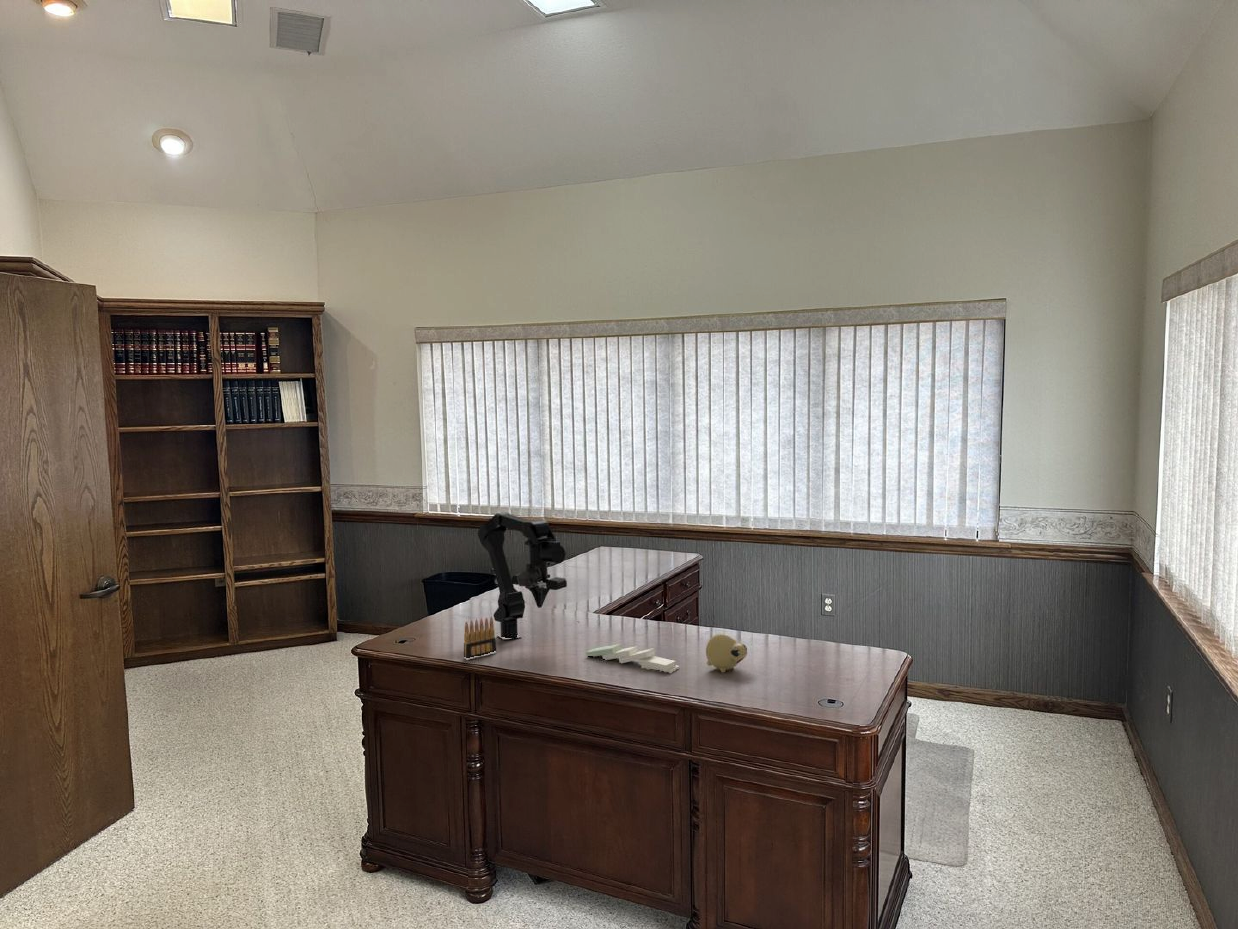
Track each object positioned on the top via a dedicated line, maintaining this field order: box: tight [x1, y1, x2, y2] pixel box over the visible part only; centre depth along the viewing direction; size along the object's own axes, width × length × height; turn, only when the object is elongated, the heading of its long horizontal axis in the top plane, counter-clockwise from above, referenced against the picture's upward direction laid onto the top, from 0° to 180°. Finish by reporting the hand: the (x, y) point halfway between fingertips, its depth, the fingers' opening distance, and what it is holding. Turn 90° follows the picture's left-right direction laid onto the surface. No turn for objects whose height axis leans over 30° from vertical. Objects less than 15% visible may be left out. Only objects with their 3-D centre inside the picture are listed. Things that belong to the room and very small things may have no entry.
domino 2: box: [601, 645, 639, 661], centre depth 264 cm, size 2×5×10 cm
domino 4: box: [638, 655, 677, 671], centre depth 256 cm, size 2×5×10 cm
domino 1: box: [586, 643, 623, 657], centre depth 267 cm, size 2×5×10 cm
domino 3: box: [618, 647, 656, 664], centre depth 260 cm, size 2×5×10 cm
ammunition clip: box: [463, 615, 497, 658], centre depth 271 cm, size 11×2×12 cm, turn 128°
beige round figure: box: [705, 633, 748, 674], centre depth 252 cm, size 10×12×11 cm
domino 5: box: [640, 664, 680, 674], centre depth 256 cm, size 2×5×10 cm
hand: (539, 607), depth 278 cm, fingers closed
